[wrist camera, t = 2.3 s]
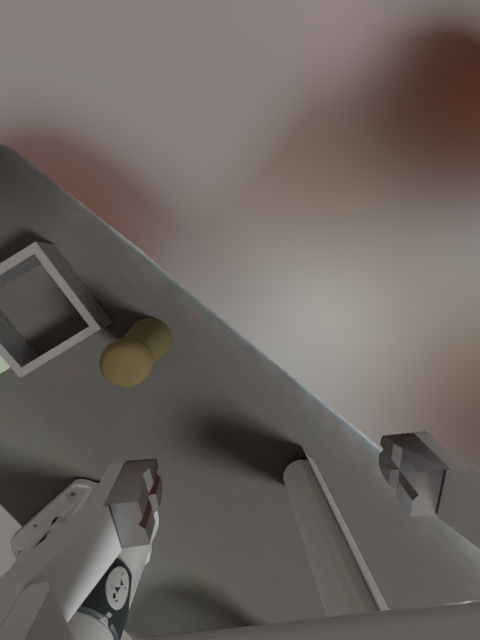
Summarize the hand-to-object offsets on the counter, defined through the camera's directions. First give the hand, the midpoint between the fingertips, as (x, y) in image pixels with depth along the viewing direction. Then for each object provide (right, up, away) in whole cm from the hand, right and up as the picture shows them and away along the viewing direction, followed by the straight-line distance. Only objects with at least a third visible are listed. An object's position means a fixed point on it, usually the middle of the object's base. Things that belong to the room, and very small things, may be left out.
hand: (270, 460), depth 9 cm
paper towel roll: (+9, -20, +33) cm, 40 cm away
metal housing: (-27, +7, +25) cm, 37 cm away
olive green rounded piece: (-14, +2, +27) cm, 30 cm away
